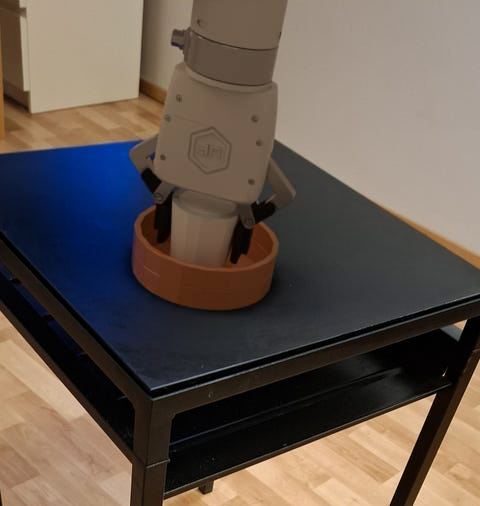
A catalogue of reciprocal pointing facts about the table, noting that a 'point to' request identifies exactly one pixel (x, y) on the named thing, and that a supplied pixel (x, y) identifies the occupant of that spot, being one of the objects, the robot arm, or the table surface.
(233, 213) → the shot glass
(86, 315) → the table surface
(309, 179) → the table surface
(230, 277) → the pan
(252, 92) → the robot arm
